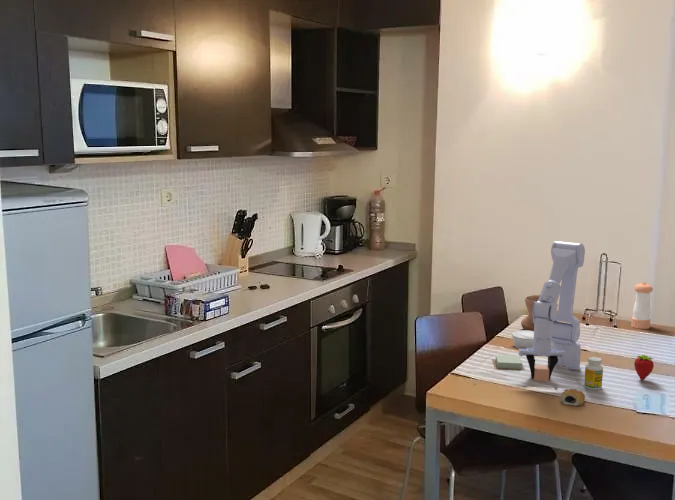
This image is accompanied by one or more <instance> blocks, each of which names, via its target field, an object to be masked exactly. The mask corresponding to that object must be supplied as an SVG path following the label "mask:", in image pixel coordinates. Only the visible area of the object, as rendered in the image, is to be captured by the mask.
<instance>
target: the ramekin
mask: <svg viewBox="0 0 675 500" xmlns="http://www.w3.org/2000/svg"><path fill="white" fill-rule="evenodd" d="M511 336H512V341H513V347H514V348H515V349H527V348H533V340H534V331H528V330H525V329H522V330H516V331H513V332H512V335H511Z"/></svg>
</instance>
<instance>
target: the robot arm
mask: <svg viewBox="0 0 675 500" xmlns="http://www.w3.org/2000/svg"><path fill="white" fill-rule="evenodd" d="M585 252H586V250H585V245H584V244H583V243H582V242H579V243H578V242H570V241H569V242H568V241H559V240H555V241H554V242H553V243H552V245H551V246H550V254H551V260H552V262H553V263H552V267H551V271H550V274H549V278H548V280H547V281H545V282H544V283H543V286H542V289H541V291H540V294H539V295H540V297H539V299H538V301H537V302H535V303H534V305H533V308H532V316H533V323H534V340H533V348H518V356H519V357H524V356H525V357H526V360H527V363H528V367H529V371H530V378H531V379H534V367H535V365H536V360H535V359H536V358H535V357H544V358H546V357H547V366H548V368H549V380H550V379H551V376H552V372H553V370H554V368H555V366H561V367H567V369H568V370H575V371H578V370H581V353H582V349H581V348H582V347H581V344H580V342H579V339H580V336H581V335H580V334H581V327H580V325H581V322H580V320H579V319H578V318H577V317H576V315H574V314H573V312H574V301H575V294H576V286H577V278H578V277H577V276H578V271H579V268H581V267H583V266H584V262H585V254H586V253H585ZM560 284H561V285H560Z"/></svg>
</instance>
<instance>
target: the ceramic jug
mask: <svg viewBox="0 0 675 500" xmlns="http://www.w3.org/2000/svg"><path fill="white" fill-rule="evenodd" d="M539 297H540V294H530V295H526V296H525V297H524V302H525V307H526V309H527V312H528V313H529V314H528V315H527V316H525V317H524V318H522V320H521V323H520V326H521V327H522V328H523V330H528V331H534V323H533V316H532V308H533V305H534V303H535V302H537V301H538V299H539Z"/></svg>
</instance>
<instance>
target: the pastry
mask: <svg viewBox="0 0 675 500" xmlns="http://www.w3.org/2000/svg"><path fill="white" fill-rule="evenodd" d="M585 400H586V397H585V394H584V392H583V391H581V390H578V389H574V388H573V389H565V390H564V391H562V393H561V395H560V398H559V402H560V403H561V404H563V405H567V406H572V407H573V406H574V407H581V406H583V405H584V403H585Z"/></svg>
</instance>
